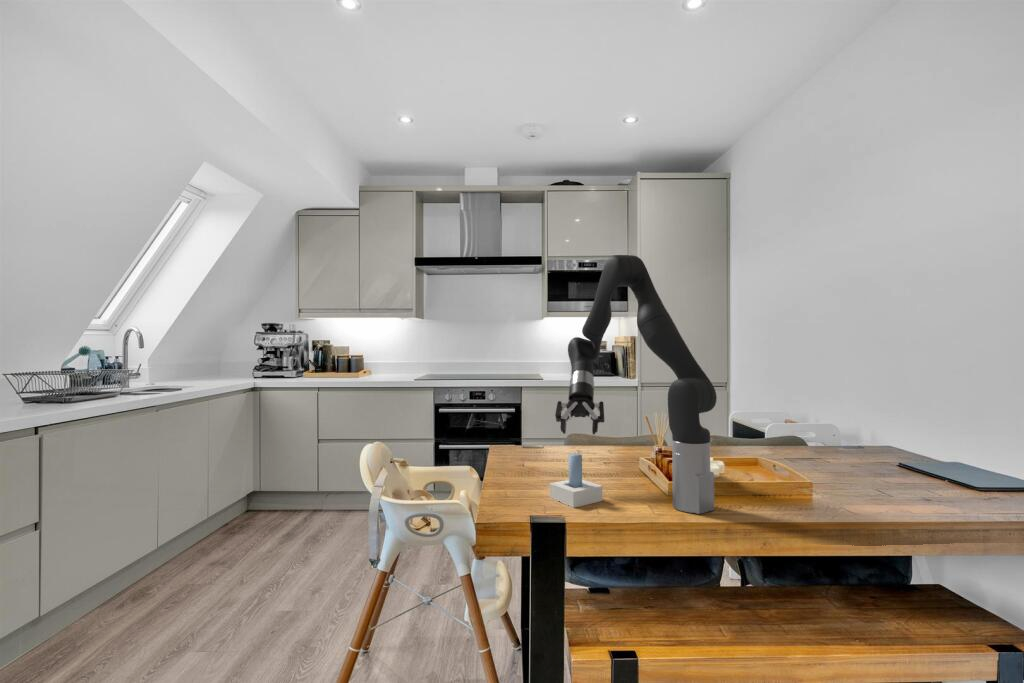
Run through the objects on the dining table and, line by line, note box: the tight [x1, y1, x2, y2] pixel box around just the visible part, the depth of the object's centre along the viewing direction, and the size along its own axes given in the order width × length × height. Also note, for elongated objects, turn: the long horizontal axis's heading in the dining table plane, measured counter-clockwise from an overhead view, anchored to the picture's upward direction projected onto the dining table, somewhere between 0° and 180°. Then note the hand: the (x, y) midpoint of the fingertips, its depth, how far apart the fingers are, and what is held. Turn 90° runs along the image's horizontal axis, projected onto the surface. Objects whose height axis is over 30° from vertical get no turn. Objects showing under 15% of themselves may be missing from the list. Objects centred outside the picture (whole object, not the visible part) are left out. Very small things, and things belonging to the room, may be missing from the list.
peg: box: [568, 453, 583, 488], centre depth 142 cm, size 4×4×12 cm
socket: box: [549, 478, 603, 508], centre depth 141 cm, size 10×10×4 cm
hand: (578, 432), depth 150 cm, fingers open, 8 cm apart
